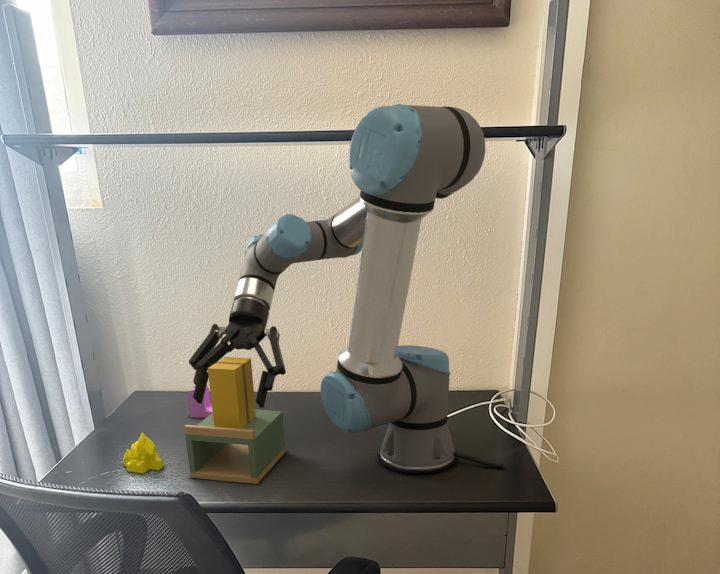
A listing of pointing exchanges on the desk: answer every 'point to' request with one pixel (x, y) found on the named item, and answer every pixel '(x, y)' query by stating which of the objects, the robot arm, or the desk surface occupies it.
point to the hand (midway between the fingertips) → (228, 402)
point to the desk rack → (235, 448)
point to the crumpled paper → (142, 456)
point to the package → (232, 392)
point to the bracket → (200, 405)
